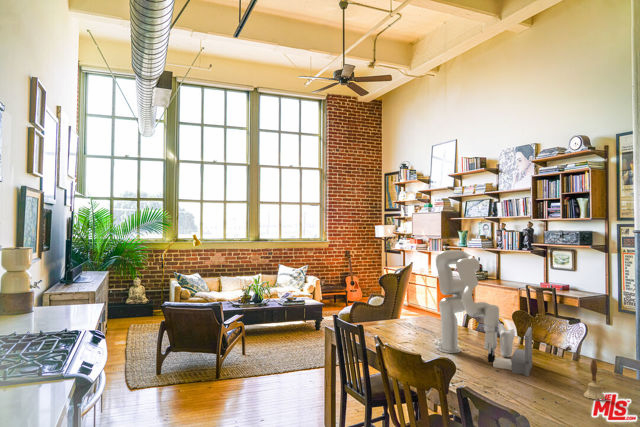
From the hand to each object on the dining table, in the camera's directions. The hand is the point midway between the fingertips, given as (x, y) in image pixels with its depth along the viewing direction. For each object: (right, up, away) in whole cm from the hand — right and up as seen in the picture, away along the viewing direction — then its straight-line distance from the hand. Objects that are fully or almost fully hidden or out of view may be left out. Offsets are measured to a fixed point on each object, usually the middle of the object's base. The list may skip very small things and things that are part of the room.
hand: (491, 362), depth 230 cm
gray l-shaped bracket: (+13, -1, -8) cm, 15 cm away
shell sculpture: (+14, -2, +14) cm, 20 cm away
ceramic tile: (+9, -1, -4) cm, 10 cm away
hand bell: (+27, 0, -45) cm, 52 cm away
